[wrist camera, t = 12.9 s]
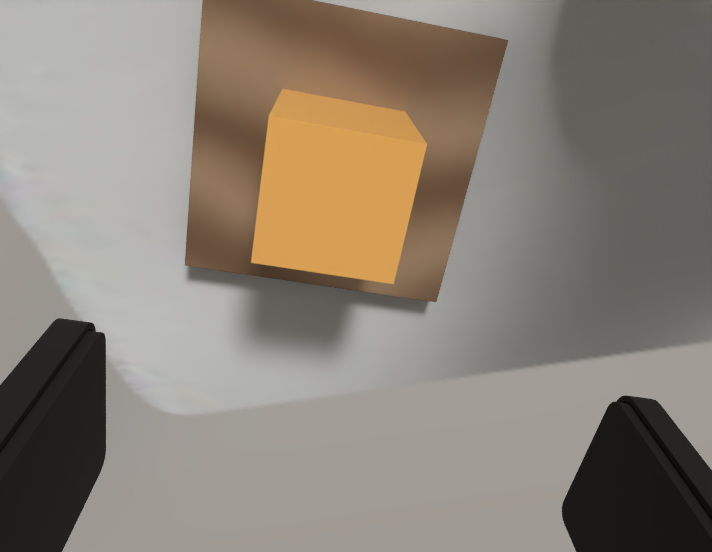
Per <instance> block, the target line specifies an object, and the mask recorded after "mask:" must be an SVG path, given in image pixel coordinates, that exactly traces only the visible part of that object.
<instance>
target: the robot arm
mask: <svg viewBox="0 0 712 552" xmlns="http://www.w3.org/2000/svg"><path fill="white" fill-rule="evenodd" d="M105 452H106V340H105V335H104V333H101V332H96V330H95V326H94V324H93V323H90V322H83V321H75V320H68V319H56V320H55V321H54V322H53V323H52V324H51V325H50V327H49V328H48V329H47V330H46V331H45V333H44V334H43V335H42V336H41V337H40V338H39V340H38V341H37V342H36V343H35V344H34V346H33V347H32V348H31V349H30V351H29V352H28V353H27V354H26V355H25V356H24V358H23V359H22V360H21V361H20V362H19V364H18V365H17V366H16V367H15V368H14V370H13V371H12V372H11V373H10V374H9V375H8V377H7V378H6V379H5V380H4V381H3V383H2V384H1V385H0V552H62V550H63V548H64V546H65V544H66V542H67V540H68V538H69V536H70V534H71V532H72V530H73V528H74V525H75V523H76V521H77V519H78V517H79V515H80V513H81V511H82V509H83V507H84V505H85V503H86V501H87V499H88V497H89V494H90V492H91V490H92V488H93V486H94V484H95V482H96V480H97V478H98V476H99V474H100V472H101V469H102V466H103V463H104V459H105ZM562 517H563V521H564V524H565V526H566V529H567V531H568V533H569V535H570V538H571V540H572V542H573V545H574V547H575V550H576V552H712V470H711V469H710V468H709V467H708V465H707V464H706V463H705V461H704V460H703V459H702V458H701V456H700V455H699V454H698V452H697V451H696V450H695V449H694V447H693V446H692V445H691V443H690V442H689V441H688V440H687V438H686V437H685V436H684V434H683V433H682V432H681V431H680V429H679V428H678V427H677V425H676V424H675V423H674V422H673V420H672V419H671V418H670V417H669V415H668V414H667V413H666V411H665V410H664V409H663V408H662V406H661V405H660V404H659V403H658V402H657V401H656V400H653V399H647V398H640V397H633V396H622V397H620V398H619V399H618V400H617V402H612V403H611V404H610V405H609V406H608V408H607V410H606V412H605V414H604V416H603V419H602V420H601V423H600V425H599V427H598V429H597V431H596V434H595V435H594V438H593V440H592V442H591V444H590V446H589V448H588V450H587V453H586V455H585V457H584V459H583V461H582V463H581V465H580V467H579V470H578V472H577V474H576V476H575V478H574V480H573V482H572V484H571V486H570V489H569V491H568V493H567V495H566V497H565V499H564V502H563V506H562Z"/></svg>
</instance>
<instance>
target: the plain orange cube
mask: <svg viewBox="0 0 712 552" xmlns="http://www.w3.org/2000/svg"><path fill="white" fill-rule="evenodd" d="M426 147H427V143H426V142H425V140H424V139H423V137H422V136H421V134H420V133H419V131H418V130H417V128H416V127H415V125H414V124H413V122H412V121H411V119H410V118H409V116H408V115H407V113H406V112H405V111H399V110H394V109H389V108H383V107H378V106H373V105H367V104H362V103H357V102H351V101H346V100H340V99H335V98H330V97H324V96H319V95H314V94H308V93H303V92H298V91H292V90H287V89H282V91H281V93H280V95H279V96H278V98H277V100H276V102H275V104H274V106H273V108H272V110H271V112H270V114H269V118H268V127H267V135H266V143H265V151H264V160H263V168H262V176H261V184H260V193H259V201H258V209H257V217H256V225H255V234H254V242H253V250H252V258H251V263H256V264H263V265H269V266H276V267H283V268H289V269H296V270H303V271H309V272H316V273H322V274H329V275H336V276H342V277H349V278H356V279H362V280H369V281H376V282H382V283H389V284H394V281H395V277H396V273H397V268H398V264H399V260H400V256H401V252H402V247H403V243H404V239H405V235H406V231H407V226H408V222H409V218H410V214H411V210H412V206H413V201H414V197H415V193H416V189H417V185H418V180H419V176H420V172H421V168H422V164H423V160H424V155H425V151H426Z"/></svg>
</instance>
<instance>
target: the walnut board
mask: <svg viewBox="0 0 712 552" xmlns="http://www.w3.org/2000/svg"><path fill="white" fill-rule="evenodd" d="M507 43H508V40H504V39H500V38H495V37H490V36H485V35H480V34H475V33H471V32H466V31H461V30H456V29H451V28H446V27H441V26H436V25H431V24H426V23H421V22H417V21H412V20H407V19H402V18H397V17H392V16H387V15H382V14H377V13H372V12H367V11H363V10H358V9H353V8H348V7H343V6H338V5H333V4H328V3H323V2H318V1H313V0H203V4H202V18H201V33H200V48H199V63H198V78H197V93H196V108H195V123H194V138H193V152H192V167H191V182H190V197H189V212H188V227H187V242H186V257H185V265H186V266H193V267H200V268H207V269H213V270H220V271H227V272H234V273H241V274H248V275H254V276H261V277H268V278H275V279H282V280H288V281H295V282H302V283H309V284H316V285H323V286H329V287H336V288H343V289H350V290H357V291H363V292H370V293H377V294H384V295H391V296H398V297H404V298H411V299H418V300H425V301H432V302H436V301H437V297H438V294H439V290H440V286H441V283H442V279H443V275H444V272H445V268H446V264H447V261H448V257H449V254H450V250H451V246H452V243H453V239H454V235H455V232H456V228H457V224H458V221H459V217H460V214H461V210H462V206H463V203H464V199H465V195H466V192H467V188H468V184H469V181H470V177H471V174H472V170H473V166H474V163H475V159H476V155H477V152H478V148H479V144H480V141H481V137H482V134H483V130H484V126H485V123H486V119H487V115H488V112H489V108H490V104H491V101H492V97H493V94H494V90H495V86H496V83H497V79H498V75H499V72H500V68H501V64H502V61H503V57H504V54H505V50H506V46H507ZM282 89H287V90H292V91H298V92H303V93H308V94H314V95H319V96H324V97H330V98H335V99H340V100H346V101H351V102H357V103H362V104H367V105H373V106H378V107H383V108H389V109H394V110H399V111H405V112H406V113H407V115H408V116H409V118H410V119H411V121H412V122H413V124H414V125H415V127H416V128H417V130H418V131H419V133H420V134H421V136H422V137H423V139H424V140H425V142H426V143H427V147H426V151H425V155H424V160H423V164H422V168H421V172H420V176H419V180H418V185H417V189H416V193H415V197H414V201H413V206H412V210H411V214H410V218H409V222H408V226H407V231H406V235H405V239H404V243H403V247H402V252H401V256H400V260H399V264H398V268H397V273H396V277H395V281H394V284H389V283H382V282H376V281H369V280H362V279H356V278H349V277H342V276H336V275H329V274H322V273H316V272H309V271H303V270H296V269H289V268H283V267H276V266H269V265H263V264H256V263H251V258H252V250H253V242H254V234H255V225H256V217H257V209H258V201H259V193H260V184H261V176H262V168H263V160H264V151H265V143H266V135H267V127H268V118H269V114H270V112H271V110H272V108H273V106H274V104H275V102H276V100H277V98H278V96H279V95H280V93H281V91H282Z"/></svg>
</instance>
